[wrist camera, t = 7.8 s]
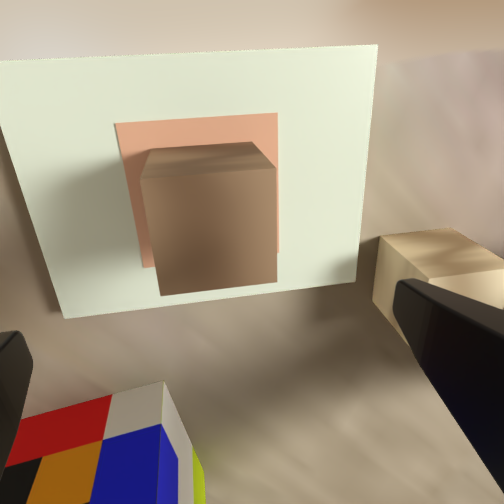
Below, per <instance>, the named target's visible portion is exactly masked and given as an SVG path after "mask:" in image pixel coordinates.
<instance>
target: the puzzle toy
mask: <svg viewBox="0 0 504 504" xmlns="http://www.w3.org/2000/svg"><path fill="white" fill-rule="evenodd" d="M0 504H206V499H205V481H204V471H203V469H202V467H201V464H200V462H199V460H198V458H197V455H196V453H195V451H194V448H193V446H192V444H191V441H190V439H189V437H188V435H187V432H186V430H185V428H184V425H183V423H182V421H181V419H180V416H179V414H178V412H177V409H176V407H175V405H174V402H173V400H172V398H171V396H170V393H169V391H168V389H167V386H166V384H165V382H164V380H163V381H159V382H156V383H152V384H148V385H145V386H141V387H137V388H134V389H130V390H127V391H123V392H119V393H116V394H112V395H108V396H105V397H101V398H97V399H94V400H90V401H86V402H83V403H79V404H76V405H72V406H68V407H65V408H61V409H57V410H54V411H50V412H46V413H43V414H39V415H36V416H32V417H28V418H25V419H21V420H20V424H19V428H18V432H17V435H16V438H15V441H14V444H13V446H12V449H11V452H10V455H9V457H8V460H7V463H6V466H5V468H4V471H3V474H2V477H1V480H0Z"/></svg>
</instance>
